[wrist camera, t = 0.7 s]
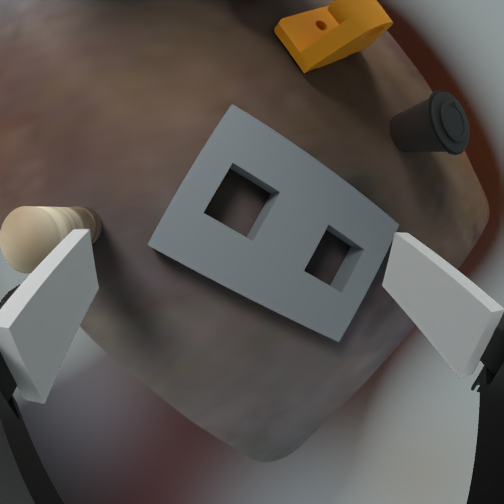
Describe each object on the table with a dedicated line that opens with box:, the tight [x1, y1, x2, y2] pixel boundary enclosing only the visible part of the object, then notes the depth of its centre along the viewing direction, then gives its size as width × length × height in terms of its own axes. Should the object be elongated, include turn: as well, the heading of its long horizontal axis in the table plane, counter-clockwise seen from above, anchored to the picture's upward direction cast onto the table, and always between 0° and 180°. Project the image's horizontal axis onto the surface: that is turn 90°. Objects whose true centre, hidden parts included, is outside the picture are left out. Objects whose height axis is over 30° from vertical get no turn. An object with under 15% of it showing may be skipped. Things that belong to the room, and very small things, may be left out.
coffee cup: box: [390, 91, 469, 155], centre depth 34 cm, size 8×8×10 cm
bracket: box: [274, 0, 393, 73], centre depth 28 cm, size 11×7×12 cm, turn 123°
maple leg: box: [0, 206, 102, 273], centre depth 22 cm, size 4×4×15 cm
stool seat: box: [148, 104, 399, 342], centre depth 34 cm, size 24×16×3 cm, turn 60°
